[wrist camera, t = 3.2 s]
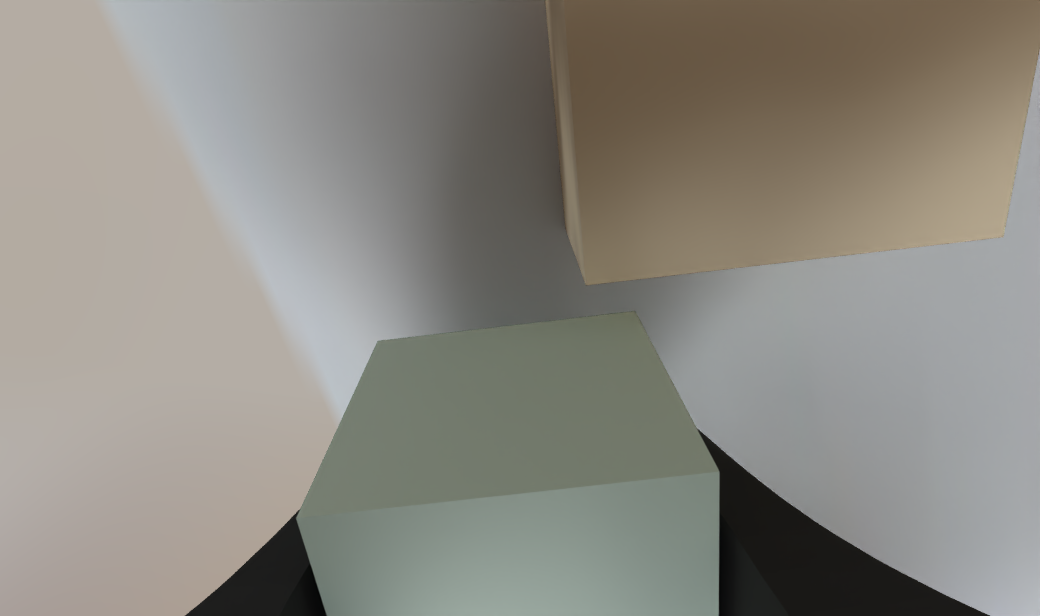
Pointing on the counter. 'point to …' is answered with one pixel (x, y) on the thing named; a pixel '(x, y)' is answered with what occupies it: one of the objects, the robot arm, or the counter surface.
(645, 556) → the sage cube
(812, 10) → the beech base block
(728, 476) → the robot arm
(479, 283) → the counter surface
